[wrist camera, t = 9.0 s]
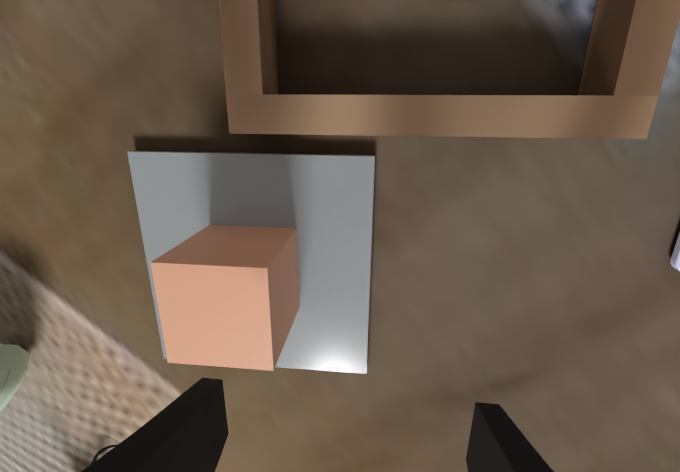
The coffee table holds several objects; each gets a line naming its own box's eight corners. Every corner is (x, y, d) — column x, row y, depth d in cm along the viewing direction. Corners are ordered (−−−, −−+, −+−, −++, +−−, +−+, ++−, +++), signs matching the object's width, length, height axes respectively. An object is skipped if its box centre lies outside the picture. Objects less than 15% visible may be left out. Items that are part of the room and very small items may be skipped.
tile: (374, 155, 17) (374, 156, 16) (366, 366, 21) (366, 373, 20) (135, 150, 18) (127, 151, 17) (169, 352, 22) (163, 358, 21)
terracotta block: (296, 228, 18) (267, 268, 13) (299, 308, 19) (273, 370, 14) (209, 224, 18) (150, 262, 13) (218, 303, 20) (167, 362, 15)
